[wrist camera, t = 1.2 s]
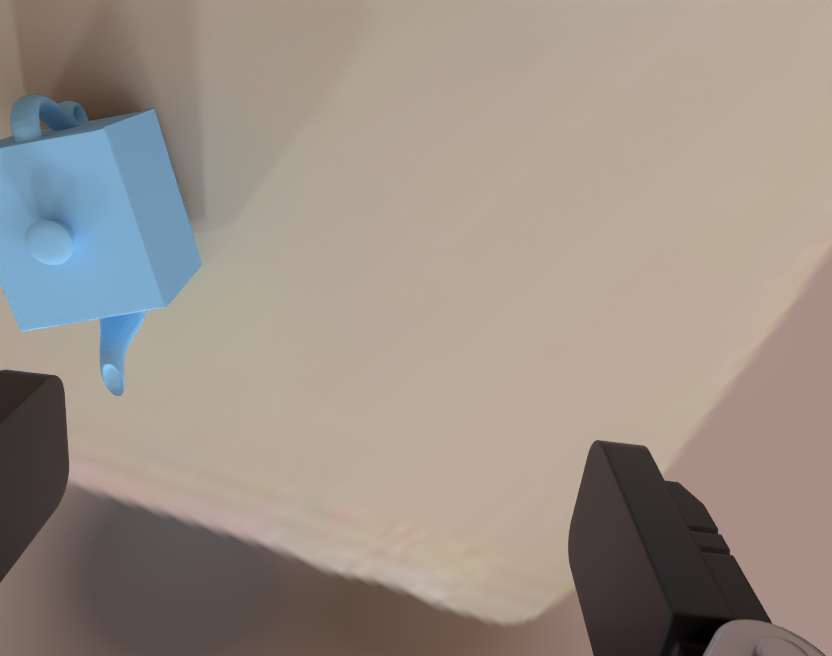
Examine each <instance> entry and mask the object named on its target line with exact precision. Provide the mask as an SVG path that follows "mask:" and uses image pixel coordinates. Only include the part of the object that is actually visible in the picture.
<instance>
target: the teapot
mask: <svg viewBox="0 0 832 656" xmlns="http://www.w3.org/2000/svg"><path fill="white" fill-rule="evenodd" d="M39 118H40V119H41V120H42V121H44V122H45V123H46V124H47V125H48V126H49V127H51V128H49V129H44V130H41V127H40V121H39ZM10 121H11V129H12V134H13V136H12V137H8V138H5V139H2V140H0V284H1V286H2V289H3V291H4V293H5V296H6V298H7V300H8V303H9V305H10V307H11V310H12V312H13V314H14V316H15V319H16V321H17V323H18V325H19V327H20V330H21V331H22V332H24V331H30V330H36V329H42V328H47V327H53V326H59V325H65V324H71V323H77V322H83V321H88V320H94V319H100V327H101V337H100V367H101V374H102V377H103V380H104V382H105V384H106V386H107V388H108V389H109V391H110V392H111V393H112V394H114V395H116V396H120V395H122V393H123V392H124V386H125V380H124V359H125V355H126V352H127V349H128V347H129V345H130V343H131V341H132V340H133V338H134V336H135V335H136V333H137V332H138V330H139V328H140V326H141V325H142V323H143V320H144V318H145V315H146V311H147V310H153V309H159V308H165V307H167V306H168V305H169V304H170V302H171V301H172V300H173V299H174V298H175V296H176V295H177V294H178V293H179V292H180V290H181V289H182V288H183V287H184V286H185V284H186V283H187V282H188V281H189V280H190V278H191V277H192V276H193V275H194V274H195V272H196V271H197V270H198V269H199V268H200V267H201V265H202V263H201V260H200V257H199V253H198V250H197V247H196V243H195V240H194V237H193V234H192V230H191V227H190V224H189V220H188V217H187V214H186V211H185V207H184V204H183V201H182V197H181V194H180V191H179V188H178V184H177V181H176V178H175V175H174V171H173V168H172V165H171V162H170V158H169V155H168V152H167V149H166V145H165V142H164V139H163V136H162V132H161V129H160V126H159V123H158V119H157V116H156V113H155V110H154V109H150V110H145V111H139V112H134V113H129V114H123V115H118V116H113V117H108V118H102V119H97V120H92V121H89V120H88V117H87V114H86V112H85V110H84V109H83V107H82V106H81V105H80V104H78V103H77V102H73V101H62V102H60V103H59V104H57V103H56V102H54V101H53V100H51V99H50V98H48V97H46V96H43V95H37V94H32V95H26V96H23V97H21V98H19V99H18V100H17V101H16V102H15V103H14V104H13V106H12V109H11V117H10Z"/></svg>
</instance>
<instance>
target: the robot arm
mask: <svg viewBox="0 0 832 656" xmlns="http://www.w3.org/2000/svg"><path fill="white" fill-rule="evenodd" d="M68 474H69V455H68V440H67V424H66V409H65V393H64V387H63V383H62V381H61V379H60V378H59V377H58V376H55V375H47V374H39V373H30V372H22V371H13V370H1V371H0V582H1V581H2V580H3V578H4V577H5V576H6V574H7V573H8V572H9V570H10V569H11V568H12V566H13V565H14V564H15V563H16V561H17V560H18V559H19V557H20V556H21V555H22V553H23V552H24V551H25V549H26V548H27V547H28V545H29V544H30V543H31V541H32V540H33V539H34V537H35V536H36V535H37V533H38V532H39V531H40V530H41V528H42V527H43V526H44V524H45V523H46V521H47V520H48V519H49V517H50V516H51V515H52V514H53V512H54V511H55V510H56V508H57V507H58V505H59V503H60V502H61V499H62V497H63V494H64V492H65V489H66V485H67V481H68ZM568 554H569V563H570V568H571V572H572V575H573V579H574V583H575V587H576V590H577V594H578V598H579V602H580V605H581V609H582V613H583V617H584V621H585V624H586V628H587V632H588V636H589V639H590V643H591V647H592V651H593V654H594V656H825V655H824V654H823V653H822V652H821V651H820V650H819V649H817V648H816V647H815V646H814V645H812V644H810V643H809V642H808V641H806V640H805V639H803V638H802V637H800V636H798V635H796V634H795V633H793V632H790V631H788V630H786V629H784V628H782V627H779V626H776V625H774V624H772V622H771V620H770V619H769V617H768V615H767V614H766V612H765V610H764V609H763V607H762V605H761V603H760V601H759V600H758V598H757V596H756V595H755V593H754V591H753V589H752V588H751V586H750V584H749V582H748V581H747V579H746V577H745V575H744V574H743V572H742V570H741V568H740V567H739V565H738V563H737V561H736V560H735V558H734V556H732V555H730V549H729V547H728V546H727V544H726V542H725V541H724V539H723V537H722V535H720V534H718V528H717V527H716V525H715V523H714V522H713V520H712V518H711V517H710V515H709V513H708V511H707V509H706V508H705V506H704V505H703V504H702V503H701V502H700V501H699V500H698V499H697V498H695V497H694V496H693V495H692V494H691V493H690V492H689V491H687V490H686V489H685V488H684V487H683V486H682V485H681V484H680V483H678V482H670V481H665V480H664V479H663V477H662V475H661V473H660V471H659V469H658V467H657V465H656V463H655V461H654V459H653V457H652V455H651V454H650V452H649V450H648V448H647V447H645V446H642V445H633V444H625V443H616V442H608V441H599V440H597V441H595V442H594V443H593V444H592V446H591V448H590V450H589V453H588V457H587V461H586V465H585V469H584V473H583V477H582V480H581V484H580V488H579V492H578V496H577V500H576V504H575V508H574V512H573V516H572V520H571V524H570V530H569V540H568Z"/></svg>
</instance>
